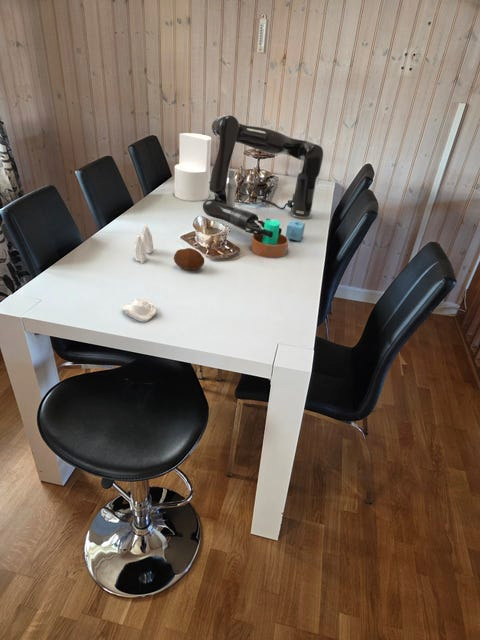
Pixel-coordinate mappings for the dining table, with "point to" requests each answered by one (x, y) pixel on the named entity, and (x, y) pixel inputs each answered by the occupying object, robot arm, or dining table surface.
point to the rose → (140, 310)
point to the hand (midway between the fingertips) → (276, 233)
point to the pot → (270, 246)
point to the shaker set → (143, 245)
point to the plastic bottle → (231, 188)
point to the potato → (189, 259)
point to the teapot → (295, 230)
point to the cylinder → (193, 167)
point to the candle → (274, 227)
